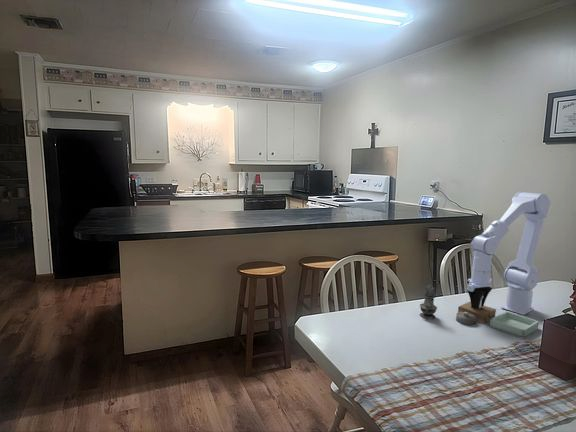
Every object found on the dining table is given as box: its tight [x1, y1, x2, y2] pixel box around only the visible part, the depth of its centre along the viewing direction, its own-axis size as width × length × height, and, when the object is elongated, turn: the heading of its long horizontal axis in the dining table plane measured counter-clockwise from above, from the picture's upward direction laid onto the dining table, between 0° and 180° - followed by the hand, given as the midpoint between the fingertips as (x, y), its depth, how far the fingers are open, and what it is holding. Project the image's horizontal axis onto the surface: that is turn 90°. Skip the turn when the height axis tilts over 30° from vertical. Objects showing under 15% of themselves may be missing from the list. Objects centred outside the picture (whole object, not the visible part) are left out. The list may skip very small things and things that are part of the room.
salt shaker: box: [419, 283, 438, 320], centre depth 131 cm, size 6×6×12 cm
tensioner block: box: [455, 301, 497, 326], centre depth 131 cm, size 15×9×3 cm, turn 128°
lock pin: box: [473, 295, 484, 311], centre depth 133 cm, size 3×3×8 cm
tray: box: [489, 310, 540, 339], centre depth 124 cm, size 12×10×2 cm
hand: (477, 306), depth 133 cm, fingers closed on lock pin, 3 cm apart
